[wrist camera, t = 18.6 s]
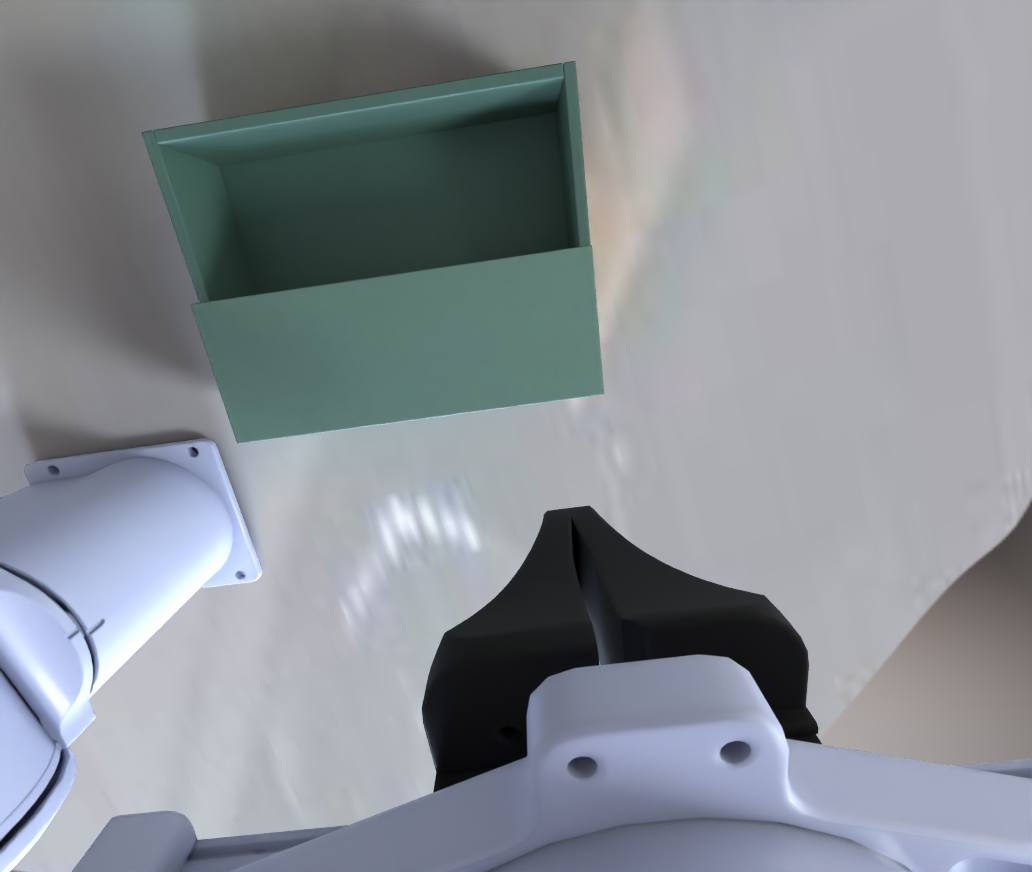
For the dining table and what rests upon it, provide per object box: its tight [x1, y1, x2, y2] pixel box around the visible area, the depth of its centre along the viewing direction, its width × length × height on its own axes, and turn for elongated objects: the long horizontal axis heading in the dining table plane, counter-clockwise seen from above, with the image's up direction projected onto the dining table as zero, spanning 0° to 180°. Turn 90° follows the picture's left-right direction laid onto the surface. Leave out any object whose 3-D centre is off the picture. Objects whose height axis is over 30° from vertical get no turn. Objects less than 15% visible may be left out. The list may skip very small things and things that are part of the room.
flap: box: [191, 245, 604, 444], centre depth 17 cm, size 5×14×1 cm, turn 98°
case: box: [142, 61, 590, 303], centre depth 19 cm, size 11×14×4 cm
